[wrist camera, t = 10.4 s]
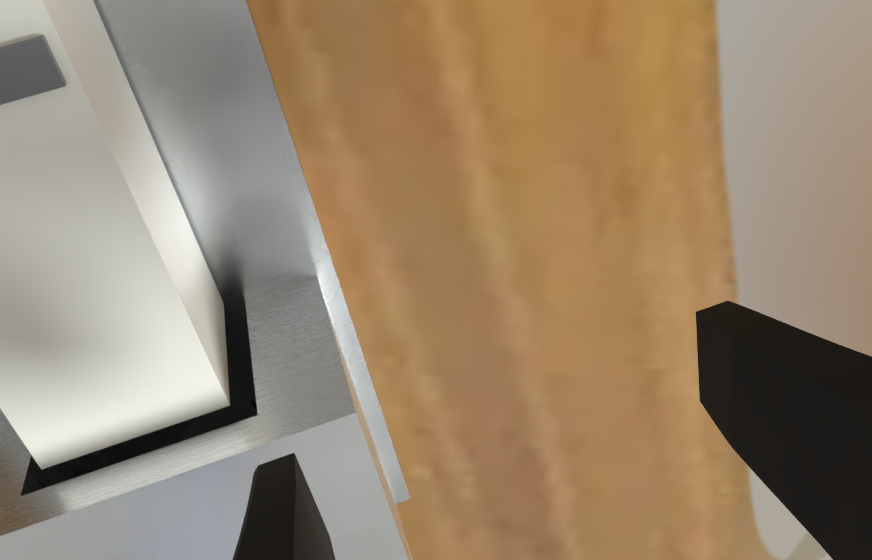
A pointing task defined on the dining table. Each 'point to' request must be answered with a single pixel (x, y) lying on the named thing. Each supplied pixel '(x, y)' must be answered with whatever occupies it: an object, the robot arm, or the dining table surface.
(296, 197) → the housing
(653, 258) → the dining table surface
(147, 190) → the cartridge
